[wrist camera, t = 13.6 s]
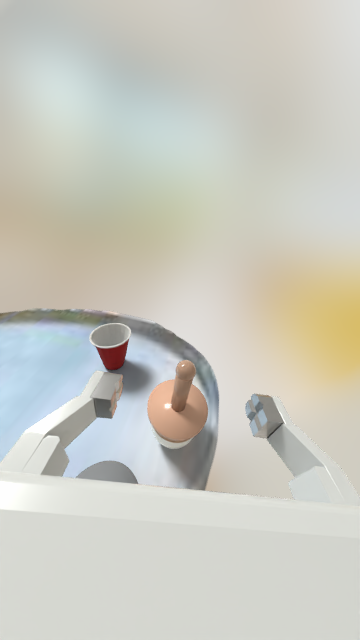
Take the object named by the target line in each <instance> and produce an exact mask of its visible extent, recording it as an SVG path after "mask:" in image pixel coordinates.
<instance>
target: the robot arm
mask: <svg viewBox="0 0 360 640" xmlns="http://www.w3.org/2000/svg"><path fill="white" fill-rule="evenodd" d="M122 379H123V375H121V374H115V373H109V372H103V371H97V370H96V371H95V372H94V374H93V375H92V377H91V379H90V380H89V382H88V384H87V385H86V387H85V388H84V390H83V392H82V393H81V395H80V396H76V397H75V398H73V399H72V400H70V401H69V402H67V403H66V404H64V405H63V406H61V407H60V408H58V409H57V410H55V411H54V412H53V413H51V414H50V415H48V416H47V417H45V418H44V419H42V420H41V421H39V422H38V423H36V424H35V425H33V426H32V427H30V428H29V429H27V430H26V431H24V433H23V434H22V435H21V437H20V438H19V439H18V441H17V442H16V443H15V444H14V446H13V447H12V448H11V450H10V451H9V452H8V454H7V455H6V456H5V457H4V459H3V460H2V461H1V463H0V640H360V497H359V495H358V493H357V492H356V490H355V489H354V487H353V486H352V484H351V482H350V481H349V479H348V478H347V476H346V474H345V473H344V471H343V470H342V468H341V467H340V466H339V465H338V464H337V463H335V462H334V461H333V460H332V459H331V458H330V457H329V456H328V455H327V454H326V453H325V452H324V451H323V450H322V449H321V448H320V447H319V446H317V445H316V444H315V443H314V442H313V441H312V440H311V439H310V438H309V437H308V436H307V435H306V434H305V433H304V432H303V431H302V430H301V429H299V428H298V427H297V426H296V425H294V424H293V422H292V421H291V419H290V417H289V415H288V413H287V411H286V409H285V407H284V405H283V404H282V402H281V400H280V399H279V398H278V397H274V396H268V395H260V394H253V395H252V396H251V400H249V401H248V402H247V403H246V414H247V417H248V418H249V419H250V420H251V422H250V427H251V430H252V433H253V436H254V437H260V438H266V439H267V440H268V441H269V443H270V444H271V445H272V447H273V448H274V450H275V451H276V452H277V454H278V455H279V456H280V458H281V459H282V460H283V462H284V463H285V464H286V466H287V467H288V468H289V470H290V471H291V473H292V474H293V475H294V477H295V478H294V479H292V480H291V481H289V483H288V485H289V487H290V490H291V493H292V495H293V498H294V499H284V498H274V497H264V496H254V495H253V496H252V495H244V494H233V493H223V492H213V491H203V490H193V489H182V488H172V487H162V486H152V485H142V484H131V483H121V482H111V481H101V480H91V479H80V478H70V477H62V476H63V473H64V471H65V469H66V467H67V465H68V463H69V458H68V456H67V454H66V452H65V450H64V449H65V448H66V447H67V446H68V445H69V444H70V443H71V442H72V441H73V440H74V439H75V438H76V437H77V436H78V435H79V434H81V433H82V432H83V431H84V430H85V429H86V428H87V427H88V426H89V425H90V424H91V423H92V422H93V421H94V420H95V419H96V417H100V418H110V419H112V418H113V415H114V412H115V410H116V407H117V405H116V402H117V401H118V400H119V399H120V396H121V393H122V388H123V383H122Z"/></svg>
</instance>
